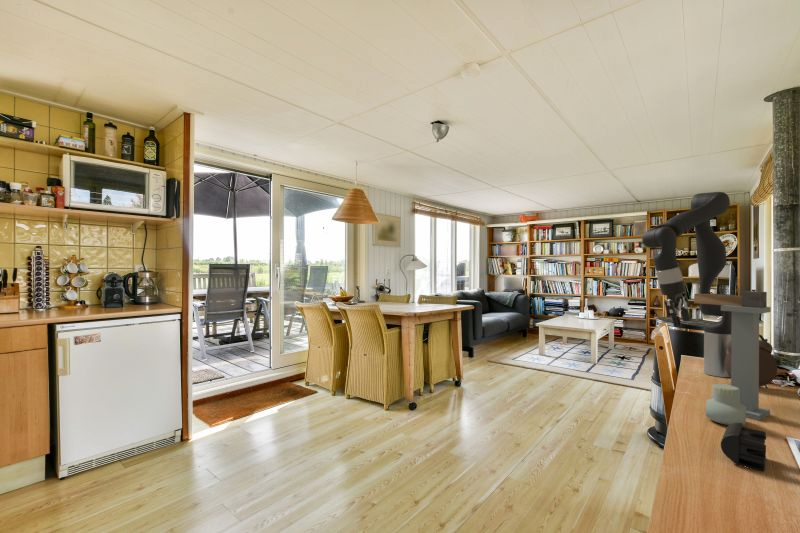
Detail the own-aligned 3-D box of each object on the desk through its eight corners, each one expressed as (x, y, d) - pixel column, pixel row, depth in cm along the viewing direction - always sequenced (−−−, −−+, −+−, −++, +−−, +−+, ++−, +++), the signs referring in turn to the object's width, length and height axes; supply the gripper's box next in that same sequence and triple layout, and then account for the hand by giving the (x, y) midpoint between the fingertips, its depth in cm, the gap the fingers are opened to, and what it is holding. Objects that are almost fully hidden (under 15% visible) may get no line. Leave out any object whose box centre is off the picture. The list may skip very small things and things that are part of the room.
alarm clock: (762, 385, 145) (762, 331, 145) (779, 391, 137) (779, 335, 137) (720, 383, 146) (720, 330, 146) (735, 389, 139) (735, 333, 139)
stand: (731, 405, 122) (732, 304, 122) (769, 414, 114) (770, 307, 114) (719, 410, 117) (720, 305, 117) (758, 420, 109) (759, 308, 110)
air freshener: (744, 432, 101) (744, 394, 101) (704, 423, 107) (705, 387, 107) (746, 421, 109) (746, 385, 109) (709, 413, 115) (709, 379, 115)
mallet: (700, 302, 128) (700, 289, 128) (766, 307, 114) (766, 291, 114) (692, 303, 125) (692, 289, 125) (759, 307, 111) (759, 292, 111)
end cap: (725, 447, 93) (725, 419, 93) (765, 457, 88) (766, 428, 88) (720, 461, 86) (720, 431, 86) (764, 473, 81) (764, 441, 81)
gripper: (674, 283, 135) (687, 328, 134) (689, 275, 143) (701, 318, 142) (651, 286, 141) (663, 329, 140) (667, 278, 149) (678, 319, 148)
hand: (682, 323), depth 141 cm, fingers open, 8 cm apart
